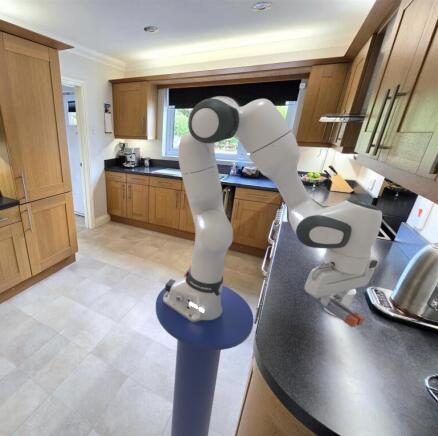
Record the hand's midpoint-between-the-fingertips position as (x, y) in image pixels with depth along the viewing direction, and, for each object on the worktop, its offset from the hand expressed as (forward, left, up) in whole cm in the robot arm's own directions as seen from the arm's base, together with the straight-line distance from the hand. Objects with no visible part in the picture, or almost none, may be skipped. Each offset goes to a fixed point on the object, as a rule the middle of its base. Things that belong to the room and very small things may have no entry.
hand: (331, 302), depth 69 cm
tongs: (0, 0, -2) cm, 2 cm away
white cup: (+4, +21, -15) cm, 26 cm away
